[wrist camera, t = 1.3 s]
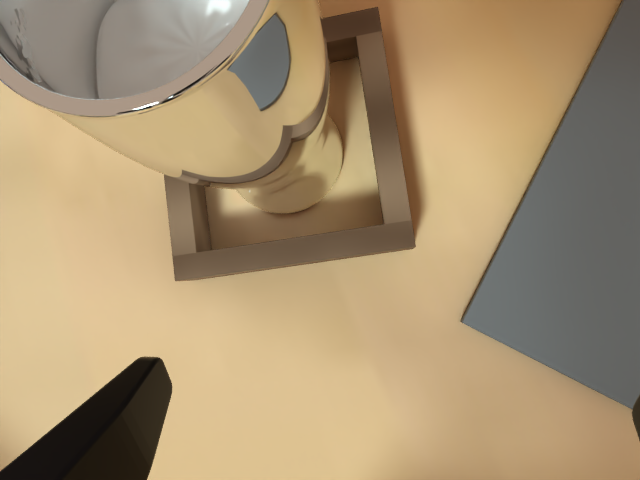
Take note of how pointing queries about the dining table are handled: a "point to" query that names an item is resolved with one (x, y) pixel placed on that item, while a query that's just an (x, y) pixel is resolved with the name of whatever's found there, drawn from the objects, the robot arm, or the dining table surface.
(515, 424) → the dining table surface
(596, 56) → the slate mat
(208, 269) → the walnut holder
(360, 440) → the dining table surface
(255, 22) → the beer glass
